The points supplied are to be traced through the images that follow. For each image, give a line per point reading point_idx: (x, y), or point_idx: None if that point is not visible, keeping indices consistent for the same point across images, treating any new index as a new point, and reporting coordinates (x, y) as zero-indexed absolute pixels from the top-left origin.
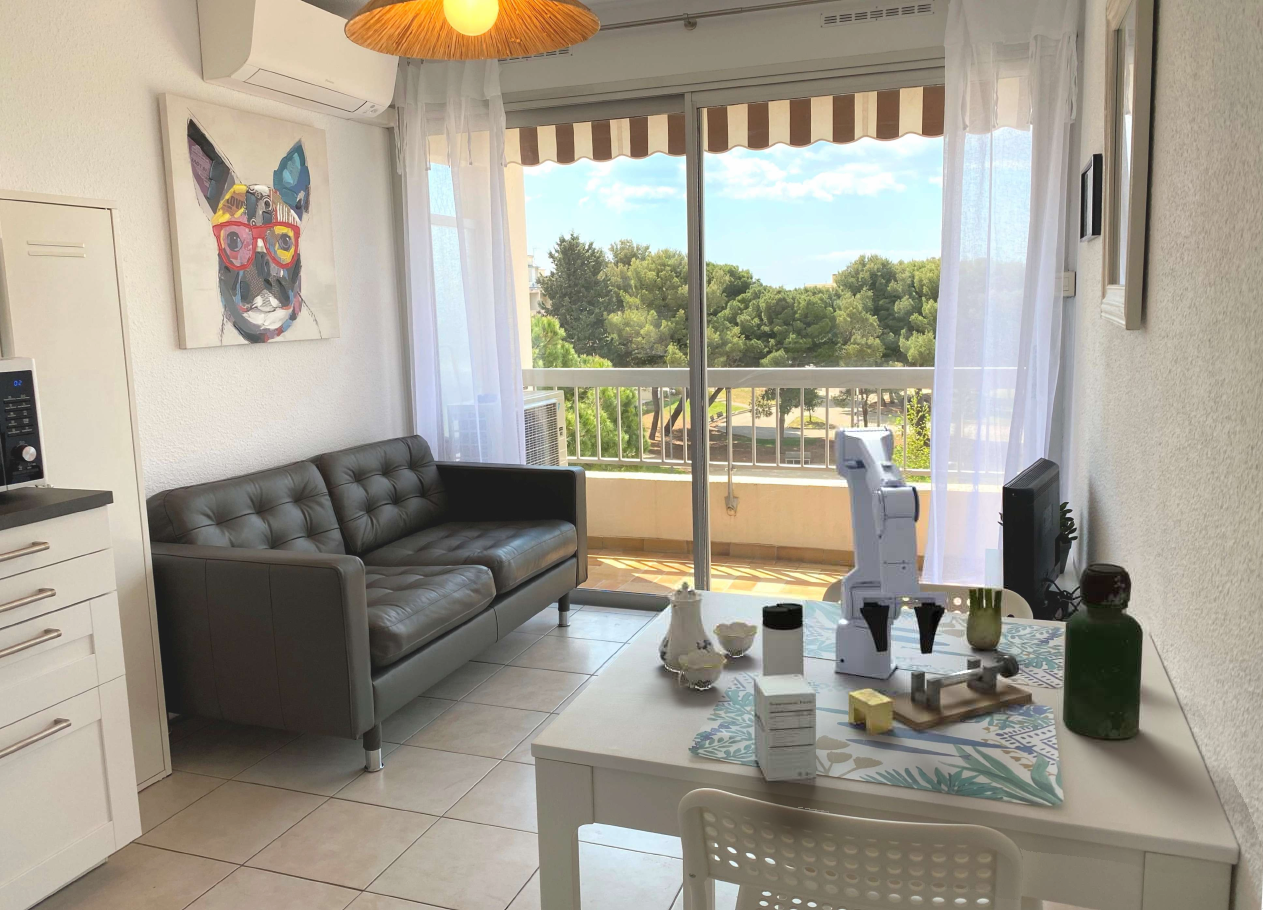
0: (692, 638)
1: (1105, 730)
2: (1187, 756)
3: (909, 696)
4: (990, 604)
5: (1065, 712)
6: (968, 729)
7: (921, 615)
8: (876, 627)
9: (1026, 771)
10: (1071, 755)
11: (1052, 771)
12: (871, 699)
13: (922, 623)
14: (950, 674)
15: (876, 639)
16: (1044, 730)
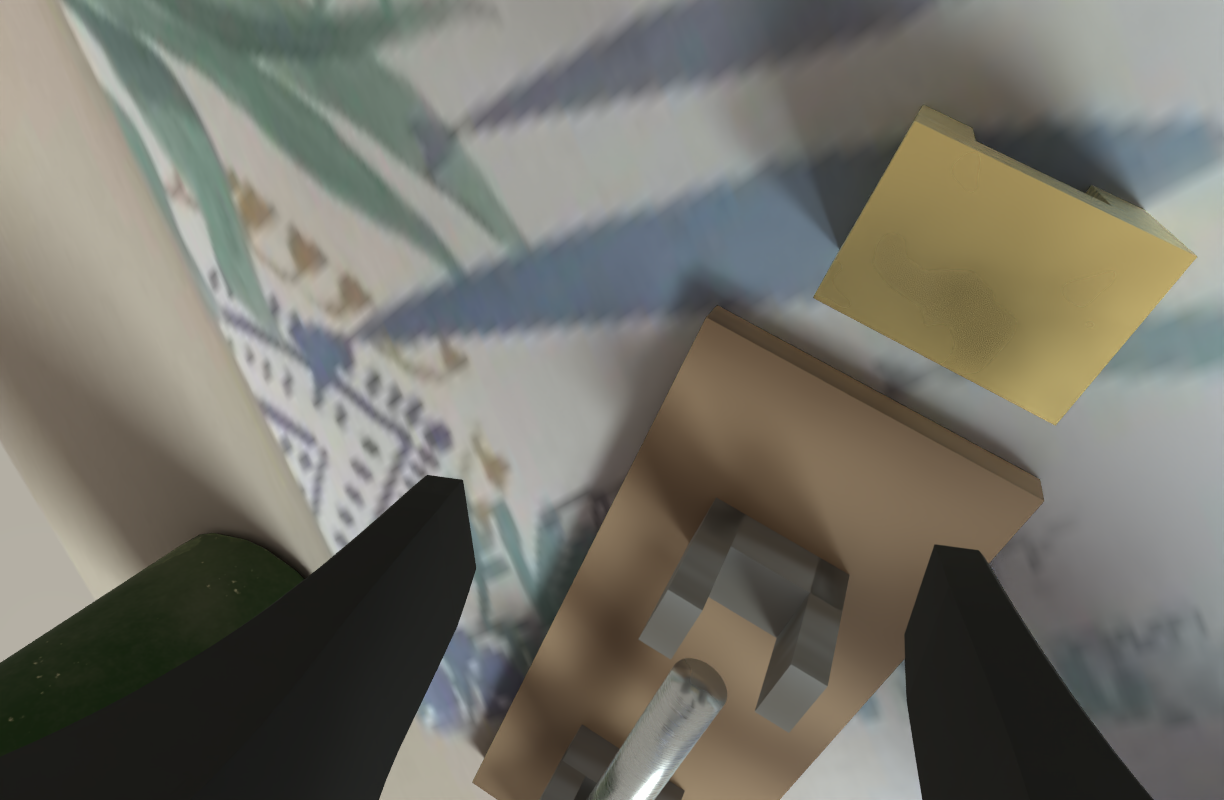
0: None
1: (179, 548)
2: (62, 517)
3: (876, 621)
4: None
5: None
6: (543, 428)
7: (109, 775)
8: (1012, 788)
9: (230, 157)
10: (213, 378)
11: (184, 215)
12: (959, 227)
13: (213, 687)
14: (665, 757)
15: (992, 641)
16: (351, 536)
